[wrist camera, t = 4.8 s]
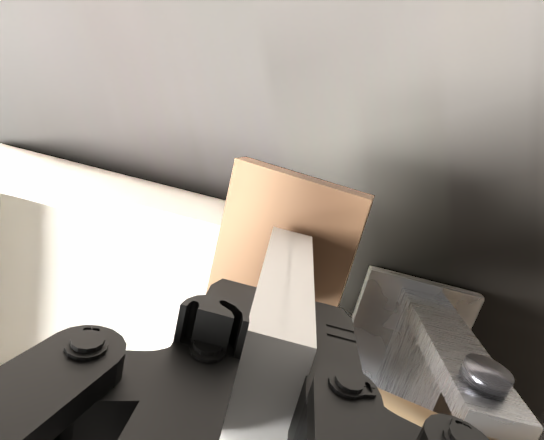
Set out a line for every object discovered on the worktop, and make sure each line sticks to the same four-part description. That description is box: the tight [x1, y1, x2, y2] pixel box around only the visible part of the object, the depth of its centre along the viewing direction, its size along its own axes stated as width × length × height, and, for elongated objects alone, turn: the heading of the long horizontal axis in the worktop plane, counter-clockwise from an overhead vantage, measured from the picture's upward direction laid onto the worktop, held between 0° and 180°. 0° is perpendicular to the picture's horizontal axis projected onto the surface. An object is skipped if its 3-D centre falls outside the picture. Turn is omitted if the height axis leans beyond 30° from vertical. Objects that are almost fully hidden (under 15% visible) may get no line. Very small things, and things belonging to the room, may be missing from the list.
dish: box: [0, 143, 226, 366], centre depth 21 cm, size 13×14×4 cm
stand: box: [351, 265, 544, 440], centre depth 18 cm, size 6×11×9 cm, turn 166°
